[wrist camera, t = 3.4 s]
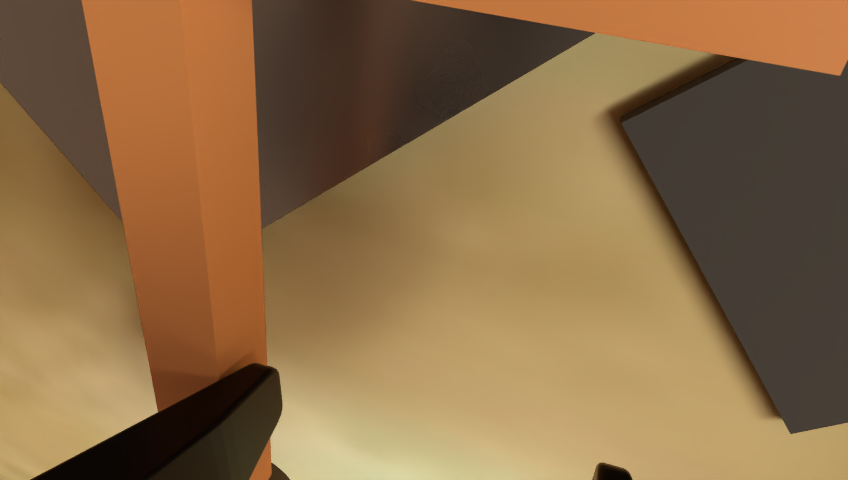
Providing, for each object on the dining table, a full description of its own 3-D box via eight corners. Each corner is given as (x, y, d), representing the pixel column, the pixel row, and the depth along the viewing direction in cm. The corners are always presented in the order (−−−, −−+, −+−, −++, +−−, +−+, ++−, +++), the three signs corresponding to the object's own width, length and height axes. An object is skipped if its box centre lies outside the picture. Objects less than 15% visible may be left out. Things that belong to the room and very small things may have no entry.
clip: (552, 536, 14) (526, 766, 10) (252, 438, 15) (136, 610, 12) (810, -126, 7) (1016, -132, 3) (209, -200, 8) (-116, -261, 5)
